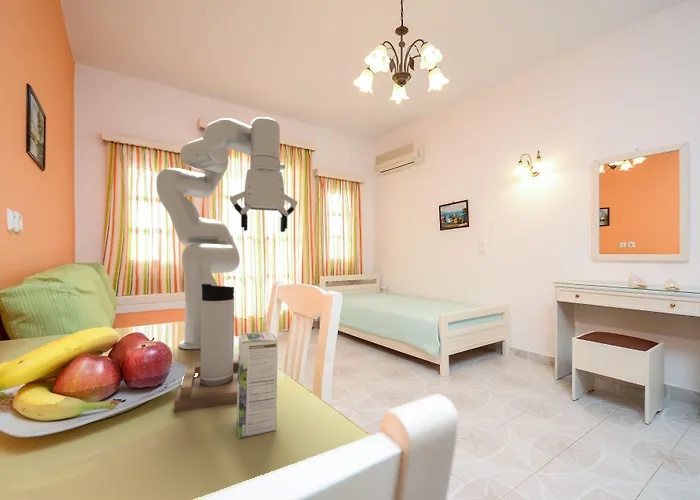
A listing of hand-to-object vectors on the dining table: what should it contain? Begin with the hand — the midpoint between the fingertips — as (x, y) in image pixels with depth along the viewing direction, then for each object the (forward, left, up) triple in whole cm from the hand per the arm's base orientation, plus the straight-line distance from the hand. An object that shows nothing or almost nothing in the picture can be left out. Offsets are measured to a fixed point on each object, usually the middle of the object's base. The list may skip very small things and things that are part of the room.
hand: (264, 231), depth 86 cm
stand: (+16, -11, -34) cm, 39 cm away
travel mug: (+16, -11, -32) cm, 38 cm away
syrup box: (+33, -5, -34) cm, 48 cm away
